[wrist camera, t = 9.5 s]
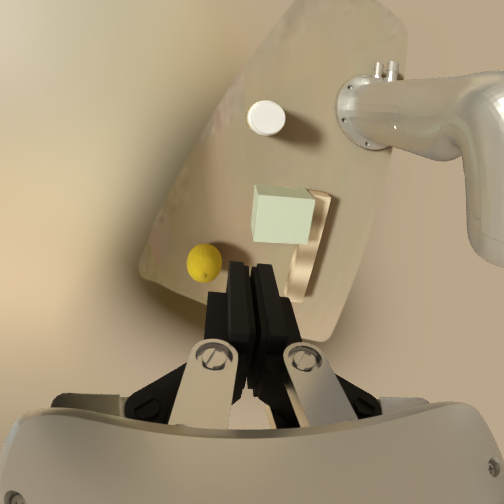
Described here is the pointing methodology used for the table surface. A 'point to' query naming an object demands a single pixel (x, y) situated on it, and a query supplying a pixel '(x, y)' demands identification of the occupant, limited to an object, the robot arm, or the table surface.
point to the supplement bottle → (265, 118)
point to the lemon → (204, 263)
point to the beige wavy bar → (307, 250)
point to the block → (281, 214)
